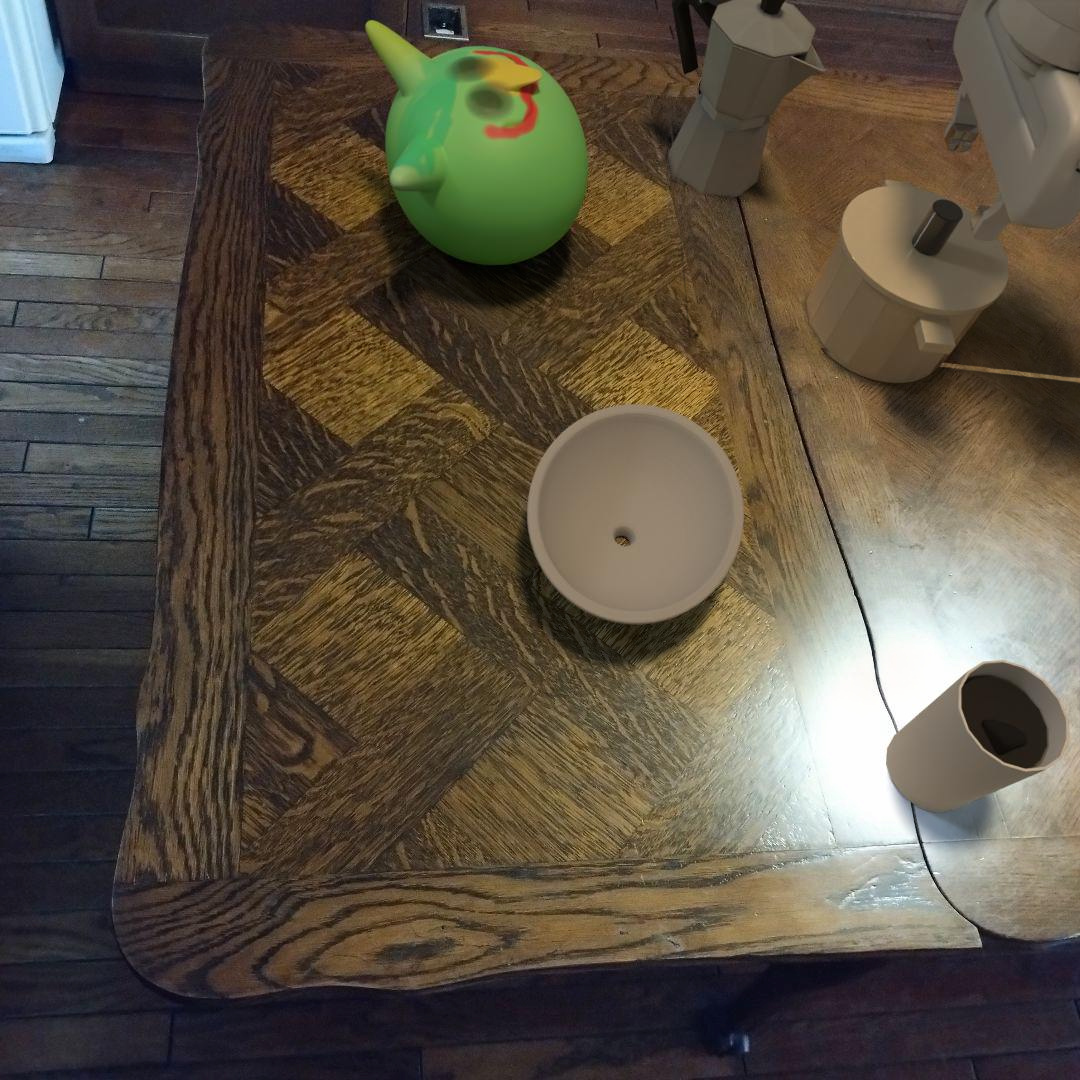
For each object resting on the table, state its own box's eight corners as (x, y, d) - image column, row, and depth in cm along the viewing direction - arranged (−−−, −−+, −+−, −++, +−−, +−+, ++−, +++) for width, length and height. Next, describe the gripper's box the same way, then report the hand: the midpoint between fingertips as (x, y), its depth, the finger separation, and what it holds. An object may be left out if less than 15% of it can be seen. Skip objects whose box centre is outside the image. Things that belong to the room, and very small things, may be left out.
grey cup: (996, 801, 64) (1093, 752, 55) (911, 833, 62) (998, 786, 53) (943, 708, 67) (1028, 647, 58) (861, 735, 65) (936, 676, 56)
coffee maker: (791, 187, 92) (875, 0, 77) (738, 229, 88) (816, 41, 73) (668, 104, 96) (725, -90, 81) (612, 141, 92) (661, -56, 76)
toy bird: (594, 296, 81) (635, 146, 69) (390, 312, 77) (394, 156, 65) (542, 150, 90) (570, -8, 77) (355, 157, 85) (353, -8, 73)
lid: (980, 208, 82) (1011, 161, 78) (1018, 331, 75) (1055, 286, 71) (824, 187, 80) (848, 138, 76) (849, 310, 73) (877, 263, 69)
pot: (925, 259, 90) (973, 184, 83) (966, 416, 81) (1025, 347, 73) (792, 242, 88) (830, 164, 81) (819, 400, 79) (864, 328, 72)
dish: (566, 417, 74) (578, 374, 70) (745, 485, 74) (768, 446, 69) (481, 608, 65) (489, 573, 61) (684, 689, 64) (707, 658, 60)
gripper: (1183, 121, 55) (1042, 297, 67) (1084, -77, 66) (978, 106, 78) (1078, 106, 55) (955, 287, 66) (995, -91, 65) (901, 95, 77)
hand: (967, 188), depth 72 cm, fingers open, 8 cm apart
